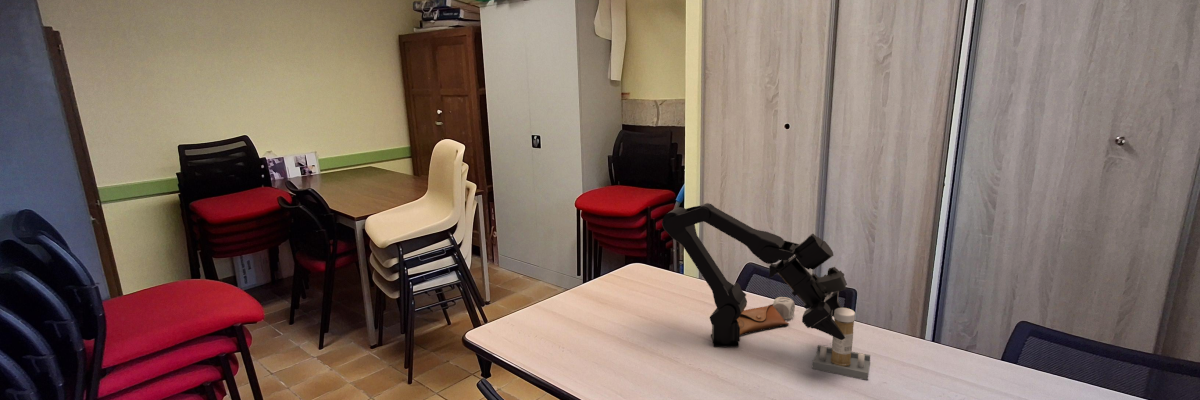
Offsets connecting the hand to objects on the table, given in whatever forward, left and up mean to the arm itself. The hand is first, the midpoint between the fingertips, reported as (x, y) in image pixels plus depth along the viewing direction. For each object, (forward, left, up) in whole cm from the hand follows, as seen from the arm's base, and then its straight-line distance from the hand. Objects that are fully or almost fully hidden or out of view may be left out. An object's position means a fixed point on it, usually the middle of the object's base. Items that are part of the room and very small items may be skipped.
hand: (845, 330), depth 134 cm
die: (-7, +28, -9) cm, 30 cm away
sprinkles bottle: (0, 0, -9) cm, 9 cm away
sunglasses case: (-16, +22, -9) cm, 29 cm away
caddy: (0, 0, -9) cm, 9 cm away
